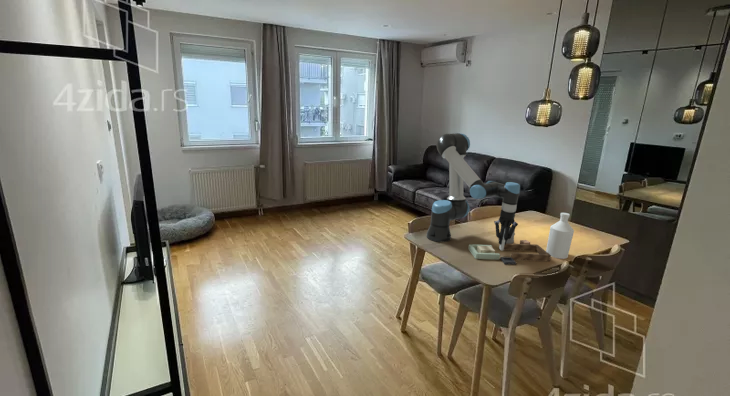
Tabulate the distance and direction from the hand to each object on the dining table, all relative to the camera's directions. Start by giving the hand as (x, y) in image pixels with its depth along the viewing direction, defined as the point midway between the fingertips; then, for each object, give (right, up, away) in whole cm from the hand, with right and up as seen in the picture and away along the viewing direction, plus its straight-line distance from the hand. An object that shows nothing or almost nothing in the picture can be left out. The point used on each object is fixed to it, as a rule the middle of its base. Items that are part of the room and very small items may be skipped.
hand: (501, 249), depth 198 cm
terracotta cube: (+19, -1, +13) cm, 23 cm away
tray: (0, -6, -8) cm, 10 cm away
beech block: (-9, -3, 0) cm, 10 cm away
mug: (+9, +1, +17) cm, 19 cm away
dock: (-10, -3, 0) cm, 10 cm away
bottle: (+34, -4, +4) cm, 35 cm away
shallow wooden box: (+14, -3, +2) cm, 15 cm away
